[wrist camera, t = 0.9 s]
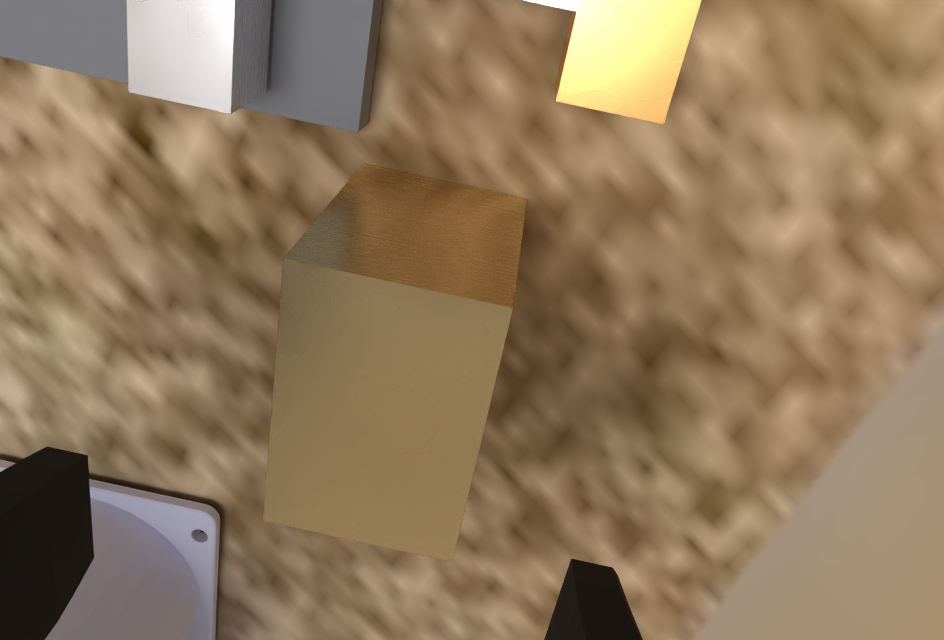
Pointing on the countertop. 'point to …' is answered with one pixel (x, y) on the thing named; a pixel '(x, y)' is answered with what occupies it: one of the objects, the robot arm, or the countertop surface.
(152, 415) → the countertop surface
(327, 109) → the vise base
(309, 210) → the countertop surface
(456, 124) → the countertop surface
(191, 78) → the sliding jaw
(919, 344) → the countertop surface
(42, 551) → the robot arm
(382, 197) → the brass block
